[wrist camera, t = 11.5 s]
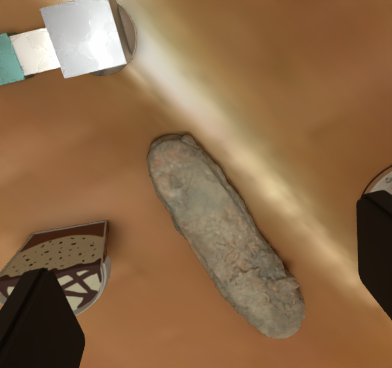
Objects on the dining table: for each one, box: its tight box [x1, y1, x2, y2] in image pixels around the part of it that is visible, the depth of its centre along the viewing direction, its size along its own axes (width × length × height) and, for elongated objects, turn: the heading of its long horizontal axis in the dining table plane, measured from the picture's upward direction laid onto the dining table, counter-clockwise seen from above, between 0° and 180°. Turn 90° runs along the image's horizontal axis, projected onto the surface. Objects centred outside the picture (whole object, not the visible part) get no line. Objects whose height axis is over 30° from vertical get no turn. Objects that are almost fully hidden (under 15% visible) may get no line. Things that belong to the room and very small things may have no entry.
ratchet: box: [0, 4, 137, 85], centre depth 32 cm, size 16×7×7 cm, turn 102°
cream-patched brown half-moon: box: [0, 220, 111, 316], centre depth 40 cm, size 12×6×10 cm, turn 99°
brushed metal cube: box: [40, 0, 133, 78], centre depth 30 cm, size 5×5×6 cm
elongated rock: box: [147, 135, 305, 339], centre depth 44 cm, size 35×5×10 cm
